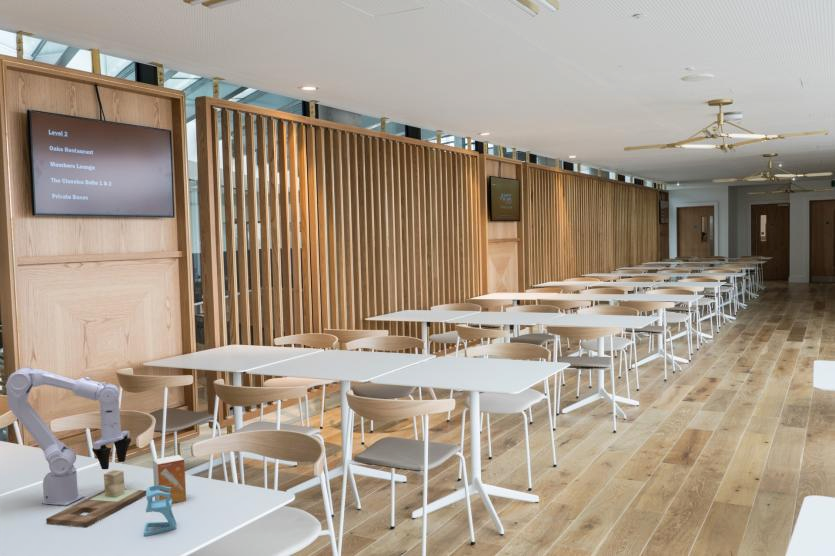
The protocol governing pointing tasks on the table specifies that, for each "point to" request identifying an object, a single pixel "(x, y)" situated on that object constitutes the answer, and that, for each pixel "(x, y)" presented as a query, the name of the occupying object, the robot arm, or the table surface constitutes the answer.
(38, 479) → the table surface
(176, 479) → the small box
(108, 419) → the robot arm
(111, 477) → the maple block
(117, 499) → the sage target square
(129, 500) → the walnut pocket board
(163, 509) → the chair
